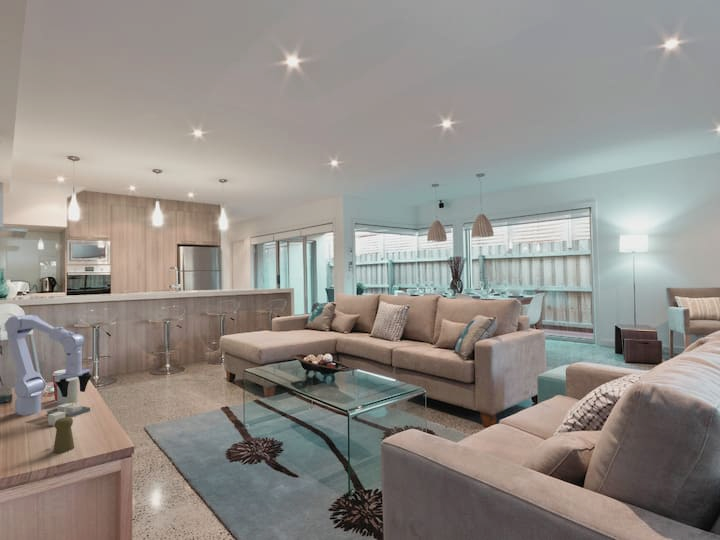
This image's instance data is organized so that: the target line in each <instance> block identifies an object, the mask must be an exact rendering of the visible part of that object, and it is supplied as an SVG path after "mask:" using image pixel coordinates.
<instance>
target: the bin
mask: <svg viewBox="0 0 720 540" xmlns="http://www.w3.org/2000/svg"><path fill="white" fill-rule="evenodd" d="M55 412H57V407H56V408H53V409H50V410H47V411H46V415H47V416H48V415H49V414H52V413H55ZM88 412H91V408H90V406H84V405H82V410H80V411H77V412H74V413H71V414H67V413H65V417H71V418H73V417H76V416H79V415H82V414H86V413H88Z"/></svg>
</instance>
